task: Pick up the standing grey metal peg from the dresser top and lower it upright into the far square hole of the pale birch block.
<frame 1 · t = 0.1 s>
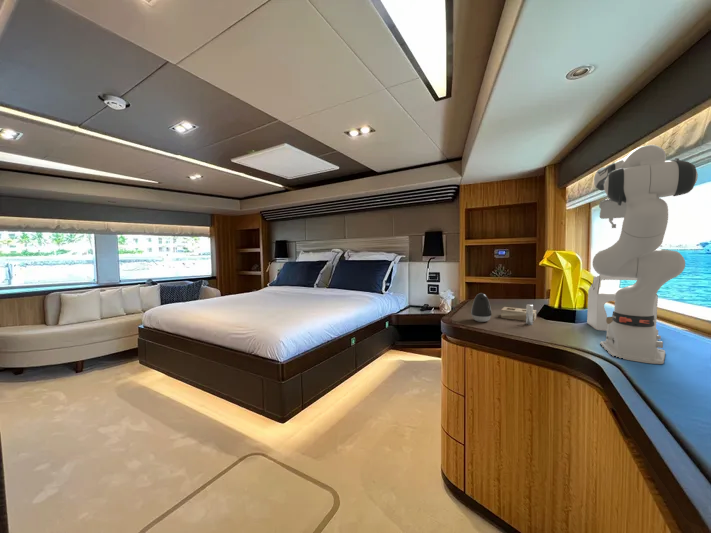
hand: (627, 227, 138), 48 cm above the table, tool pointing down, fingers open, 8 cm apart
hole block: (518, 317, 168), on the table
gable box: (618, 328, 145), on the table
dark grey egg speaker: (481, 321, 163), on the table
peg: (529, 324, 155), on the table
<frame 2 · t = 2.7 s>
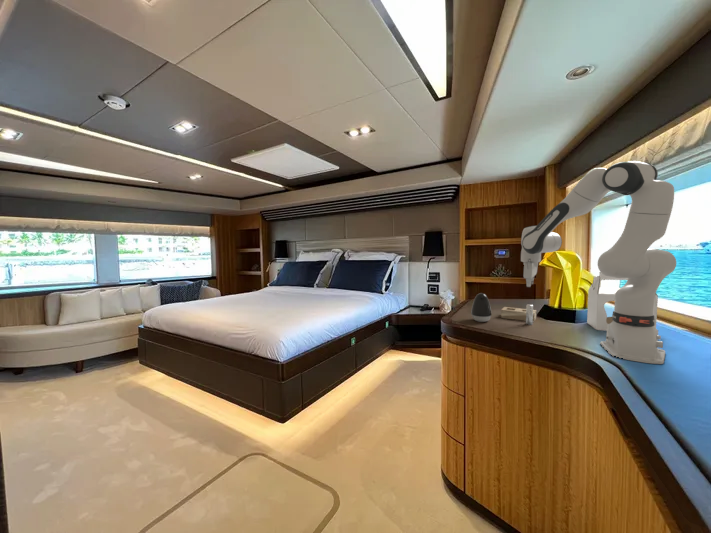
hand: (529, 285, 153), 20 cm above the table, tool pointing down, fingers open, 8 cm apart
nothing on the table moved.
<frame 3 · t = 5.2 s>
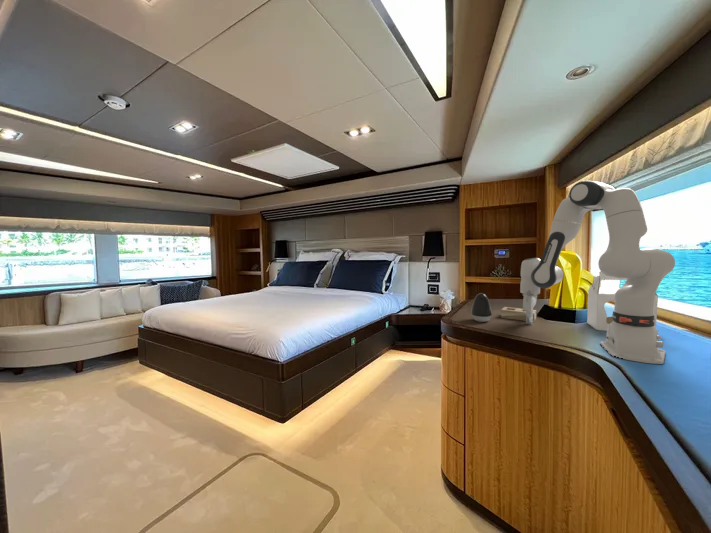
hand: (529, 316, 155), 4 cm above the table, tool pointing down, fingers closed on peg, 3 cm apart
peg: (529, 324, 155), on the table, touching gripper
everything else where it was.
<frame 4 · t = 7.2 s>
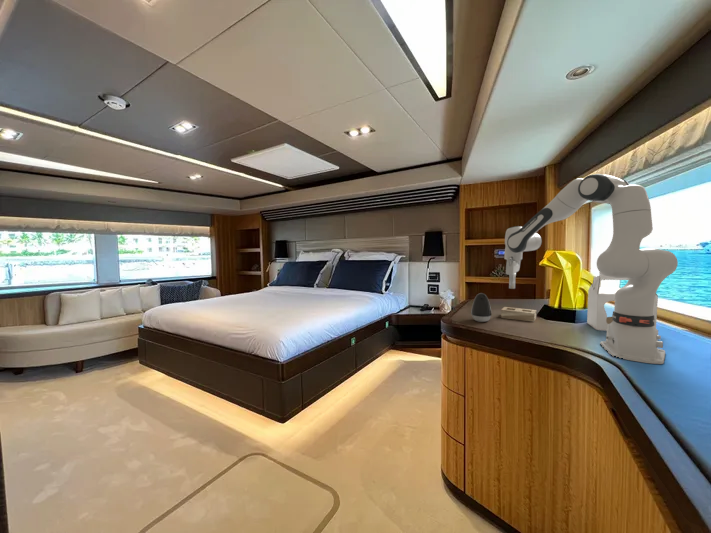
hand: (512, 281, 167), 21 cm above the table, tool pointing down, fingers closed on peg, 3 cm apart
peg: (512, 288, 168), point 16 cm above the table, touching gripper
everything else where it was.
when the fingers open (6 cm above the table, at t = 9.4 s): peg drops 2 cm, resting in hole block.
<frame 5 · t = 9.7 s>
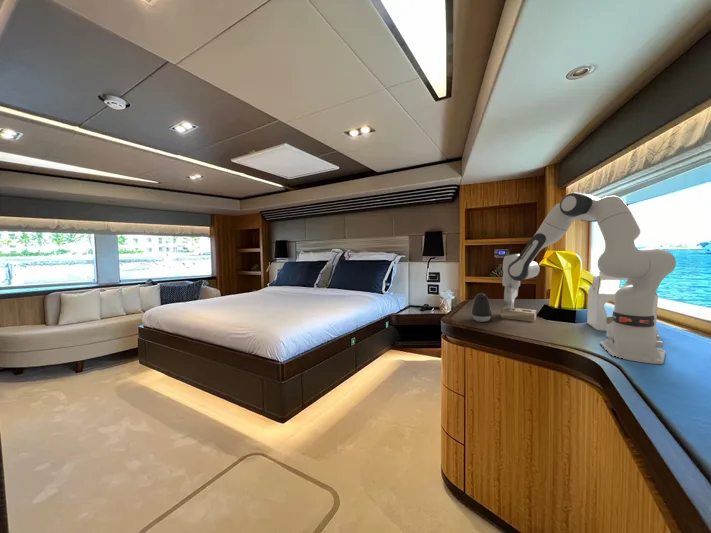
hand: (510, 307, 170), 6 cm above the table, tool pointing down, fingers open, 6 cm apart
peg: (510, 317, 170), resting in hole block
everything else where it was.
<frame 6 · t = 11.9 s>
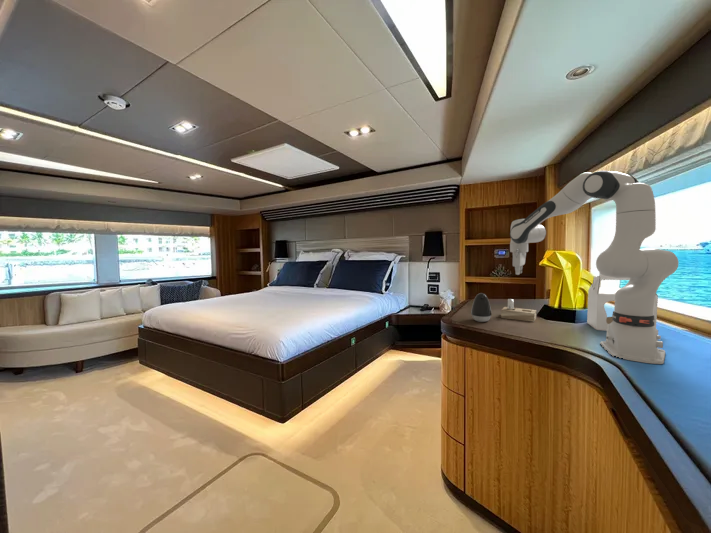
hand: (518, 274, 167), 24 cm above the table, tool pointing down, fingers open, 8 cm apart
nothing on the table moved.
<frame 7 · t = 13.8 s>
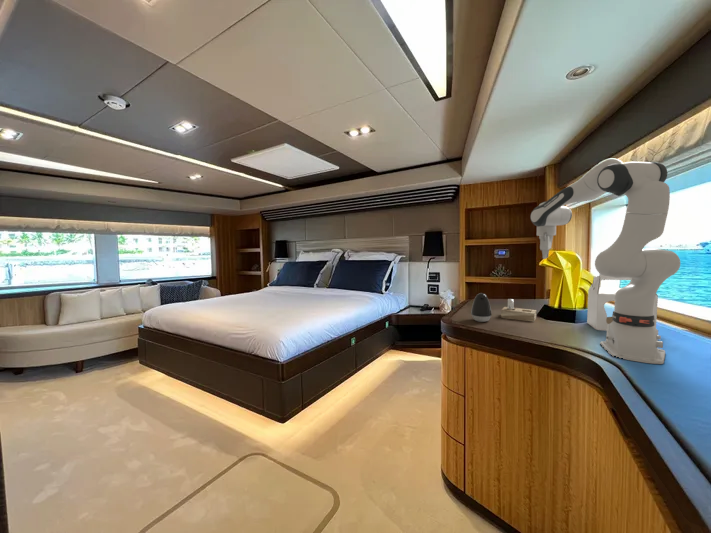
hand: (545, 258, 163), 33 cm above the table, tool pointing down, fingers open, 8 cm apart
nothing on the table moved.
at the end: peg 0.0 cm from the target spot on the hole block, point 0.0 cm above the hole block's base; peg tilted 0°; the gripper is holding nothing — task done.
